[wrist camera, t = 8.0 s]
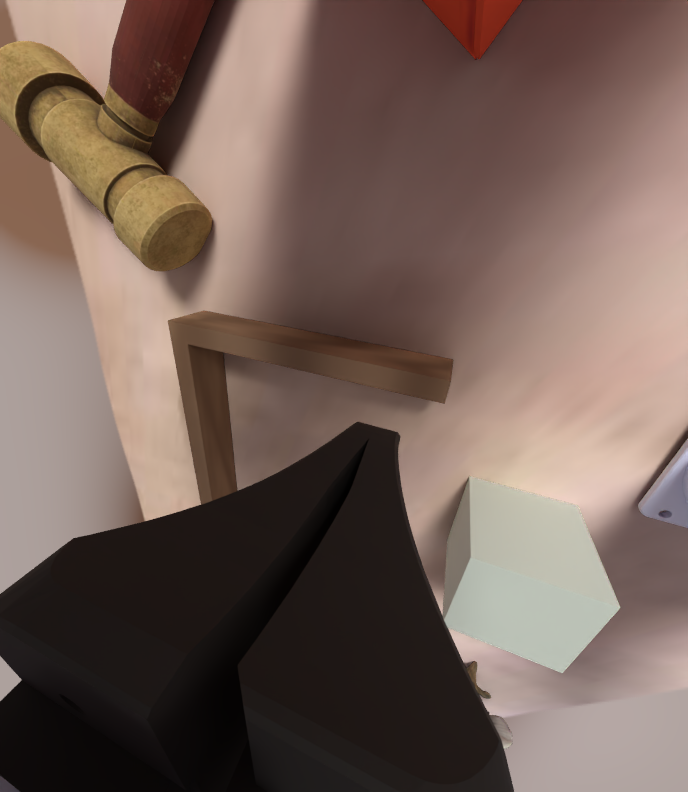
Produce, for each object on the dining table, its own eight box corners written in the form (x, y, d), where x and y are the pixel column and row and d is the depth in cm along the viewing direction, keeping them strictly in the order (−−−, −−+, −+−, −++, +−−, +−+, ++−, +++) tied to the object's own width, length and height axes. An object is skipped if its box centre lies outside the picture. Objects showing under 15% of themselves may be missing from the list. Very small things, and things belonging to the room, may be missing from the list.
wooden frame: (453, 359, 17) (450, 381, 14) (391, 583, 27) (384, 619, 24) (203, 310, 21) (167, 320, 18) (230, 520, 31) (208, 545, 28)
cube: (577, 504, 18) (620, 608, 13) (539, 568, 21) (562, 673, 16) (469, 475, 20) (470, 557, 15) (447, 538, 23) (441, 625, 17)
